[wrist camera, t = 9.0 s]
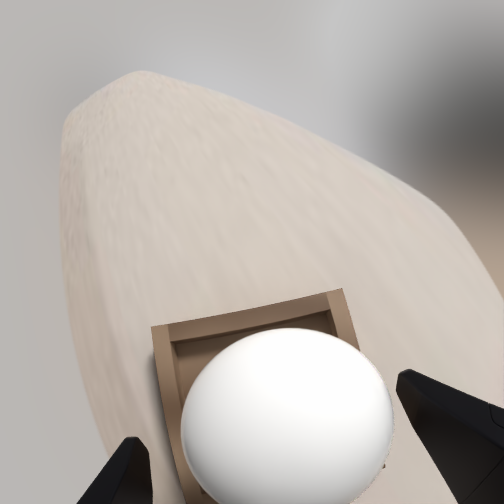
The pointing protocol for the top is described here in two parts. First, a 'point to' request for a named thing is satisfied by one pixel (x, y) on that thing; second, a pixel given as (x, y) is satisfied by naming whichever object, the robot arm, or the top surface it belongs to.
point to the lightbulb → (287, 421)
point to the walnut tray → (217, 339)
